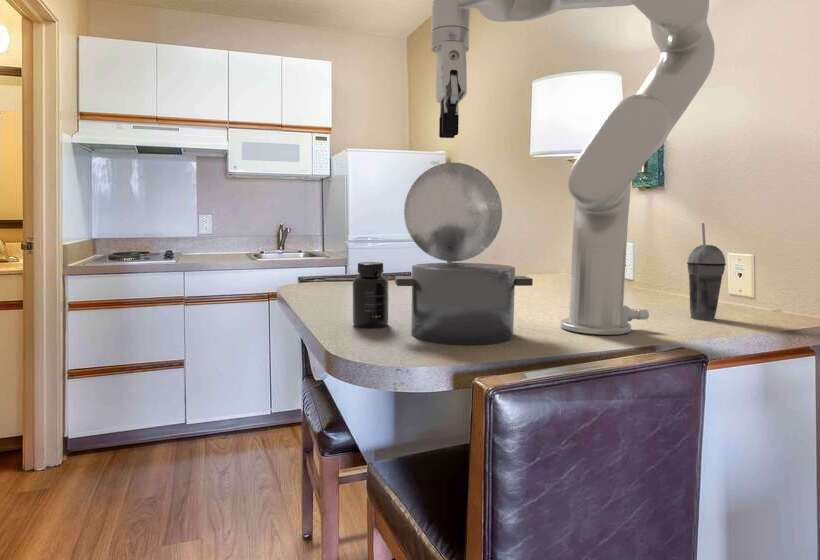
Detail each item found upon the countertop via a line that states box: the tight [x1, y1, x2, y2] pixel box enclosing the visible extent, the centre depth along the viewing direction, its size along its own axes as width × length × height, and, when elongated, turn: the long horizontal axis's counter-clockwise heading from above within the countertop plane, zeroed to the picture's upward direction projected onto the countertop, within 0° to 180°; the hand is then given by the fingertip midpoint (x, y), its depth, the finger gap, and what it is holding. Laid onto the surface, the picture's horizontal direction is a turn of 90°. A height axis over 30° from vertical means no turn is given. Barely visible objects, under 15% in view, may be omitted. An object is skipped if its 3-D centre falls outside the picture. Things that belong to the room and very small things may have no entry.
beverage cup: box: [686, 222, 727, 321], centre depth 116 cm, size 7×7×20 cm
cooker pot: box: [394, 262, 534, 346], centre depth 98 cm, size 24×18×12 cm
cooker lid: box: [403, 162, 503, 263], centre depth 108 cm, size 19×19×3 cm
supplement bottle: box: [352, 261, 389, 329], centre depth 106 cm, size 7×7×12 cm
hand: (448, 135), depth 113 cm, fingers open, 3 cm apart
